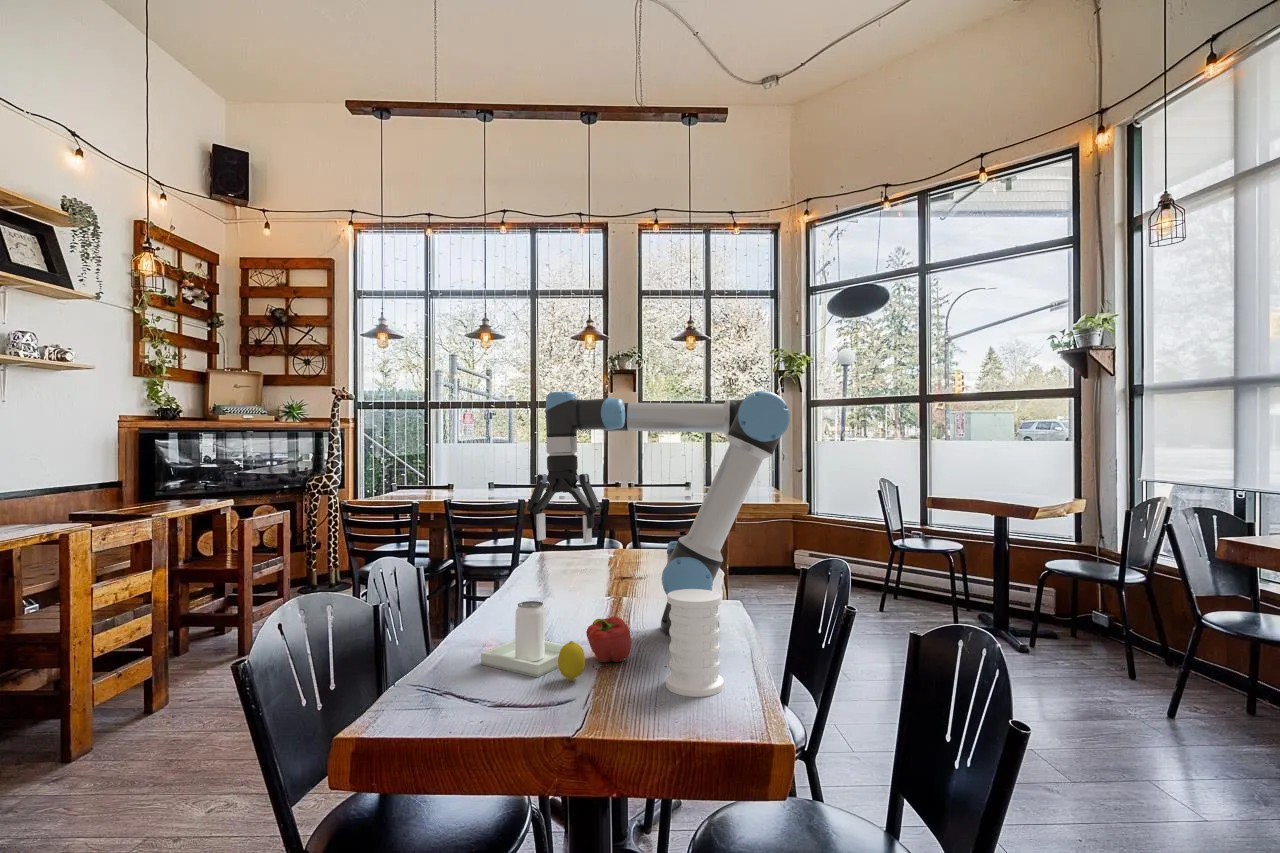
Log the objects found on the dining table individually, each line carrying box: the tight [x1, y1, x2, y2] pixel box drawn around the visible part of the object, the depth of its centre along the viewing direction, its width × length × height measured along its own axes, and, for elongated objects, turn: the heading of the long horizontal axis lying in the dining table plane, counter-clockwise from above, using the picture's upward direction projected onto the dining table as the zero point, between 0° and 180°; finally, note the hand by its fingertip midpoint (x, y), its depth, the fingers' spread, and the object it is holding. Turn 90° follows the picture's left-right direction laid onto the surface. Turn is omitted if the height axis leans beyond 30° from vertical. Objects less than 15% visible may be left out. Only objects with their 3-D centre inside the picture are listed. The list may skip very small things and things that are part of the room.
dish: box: [480, 639, 565, 678], centre depth 141 cm, size 16×14×2 cm
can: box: [514, 600, 546, 662], centre depth 141 cm, size 6×6×12 cm
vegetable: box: [585, 615, 632, 664], centre depth 141 cm, size 11×10×10 cm
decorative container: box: [665, 589, 725, 698], centre depth 126 cm, size 12×12×18 cm
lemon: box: [558, 640, 586, 682], centre depth 129 cm, size 6×6×8 cm
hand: (564, 541), depth 155 cm, fingers open, 13 cm apart
